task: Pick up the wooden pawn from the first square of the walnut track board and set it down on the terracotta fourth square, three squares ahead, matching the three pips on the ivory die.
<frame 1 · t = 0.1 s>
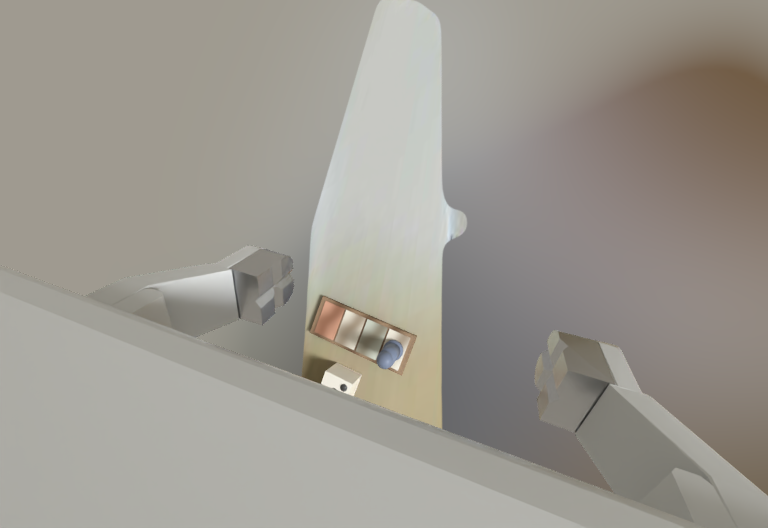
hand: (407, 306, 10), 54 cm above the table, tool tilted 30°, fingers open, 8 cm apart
pawn: (393, 349, 63), point 1 cm above the table, touching track board
track board: (362, 333, 66), on the table
die: (344, 381, 67), on the table
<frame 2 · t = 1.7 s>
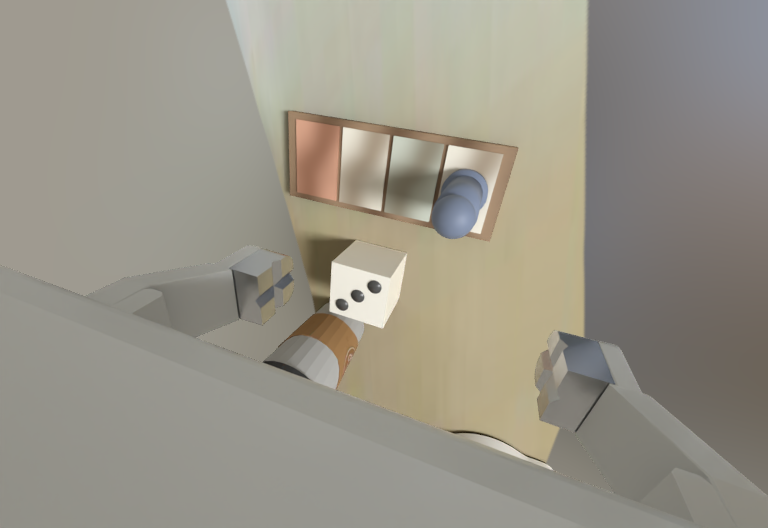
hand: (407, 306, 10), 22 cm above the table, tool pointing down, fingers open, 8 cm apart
pawn: (464, 191, 28), point 1 cm above the table, touching track board
track board: (390, 173, 31), on the table
coffee cup: (344, 318, 41), on the table
die: (378, 269, 36), on the table
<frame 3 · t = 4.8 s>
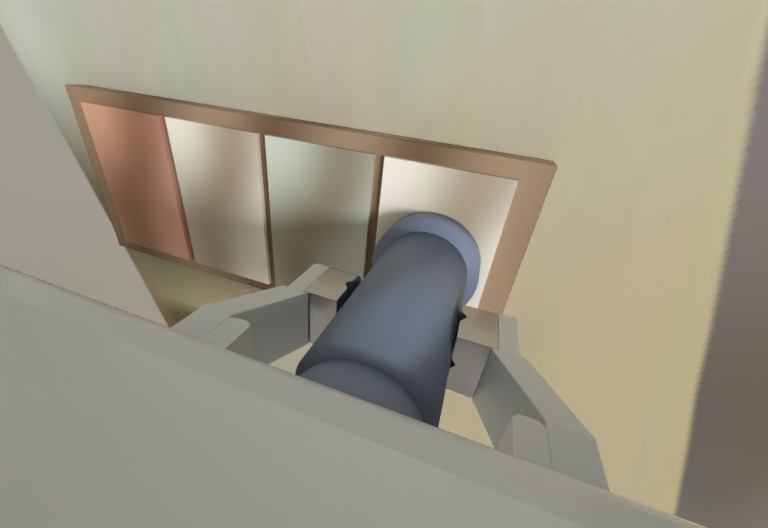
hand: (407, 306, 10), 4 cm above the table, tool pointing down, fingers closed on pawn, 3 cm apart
pawn: (428, 260, 12), point 1 cm above the table, touching gripper, track board
track board: (282, 211, 15), on the table
die: (291, 370, 21), on the table
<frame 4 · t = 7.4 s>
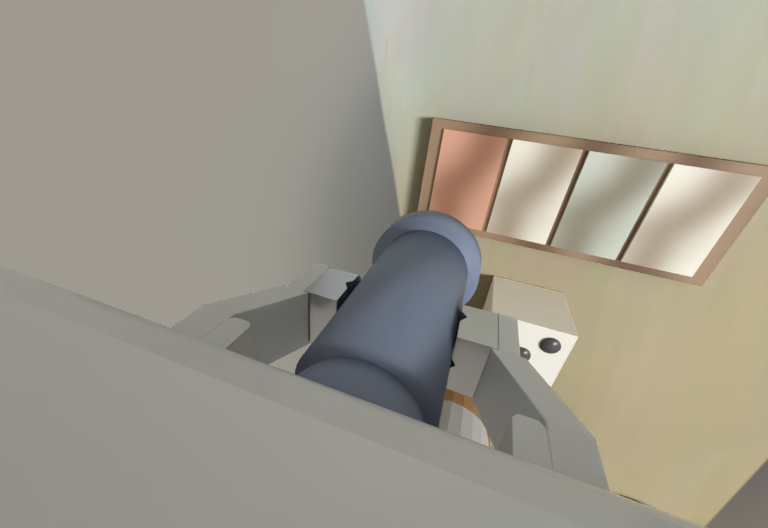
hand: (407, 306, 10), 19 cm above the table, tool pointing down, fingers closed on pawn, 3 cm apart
pawn: (428, 259, 12), point 16 cm above the table, touching gripper
track board: (563, 197, 24), on the table
coffee cup: (456, 362, 35), on the table
die: (517, 310, 29), on the table
when the fingers open (6 cm above the table, at t = 10.5 s): pawn drops 1 cm, resting on track board.
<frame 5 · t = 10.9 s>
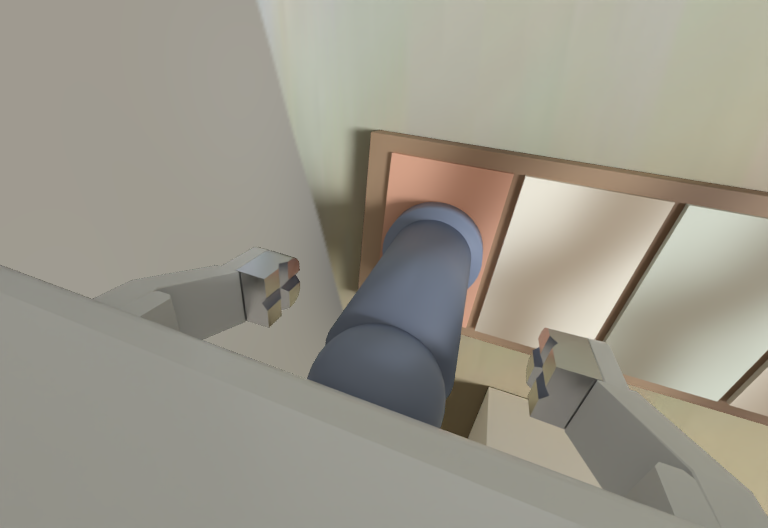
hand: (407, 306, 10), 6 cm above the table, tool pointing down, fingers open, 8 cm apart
pawn: (434, 247, 13), point 1 cm above the table, touching track board
track board: (617, 280, 13), on the table
die: (527, 438, 18), on the table
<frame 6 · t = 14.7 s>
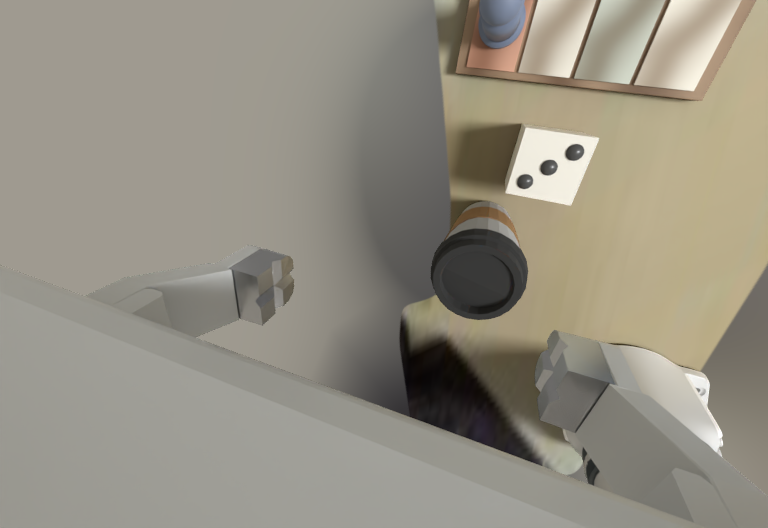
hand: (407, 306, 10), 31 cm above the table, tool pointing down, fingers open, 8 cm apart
pawn: (501, 23, 29), point 1 cm above the table, touching track board
track board: (585, 33, 28), on the table
coffee cup: (484, 224, 39), on the table
die: (541, 157, 34), on the table
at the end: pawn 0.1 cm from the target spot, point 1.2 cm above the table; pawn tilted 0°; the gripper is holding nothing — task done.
